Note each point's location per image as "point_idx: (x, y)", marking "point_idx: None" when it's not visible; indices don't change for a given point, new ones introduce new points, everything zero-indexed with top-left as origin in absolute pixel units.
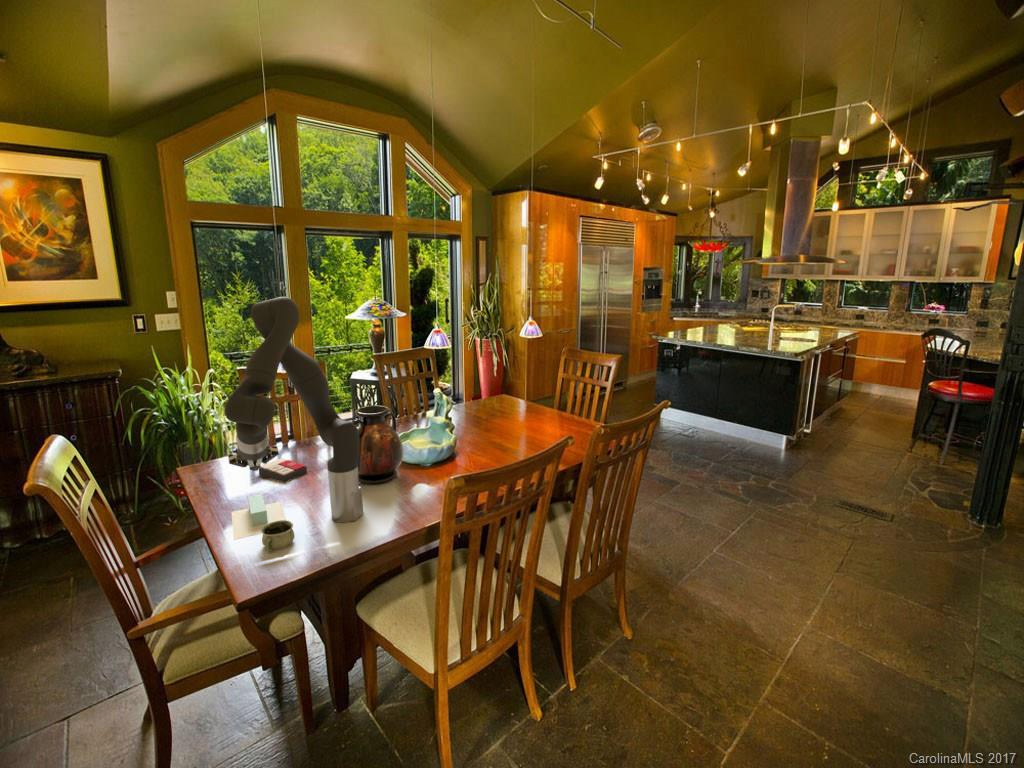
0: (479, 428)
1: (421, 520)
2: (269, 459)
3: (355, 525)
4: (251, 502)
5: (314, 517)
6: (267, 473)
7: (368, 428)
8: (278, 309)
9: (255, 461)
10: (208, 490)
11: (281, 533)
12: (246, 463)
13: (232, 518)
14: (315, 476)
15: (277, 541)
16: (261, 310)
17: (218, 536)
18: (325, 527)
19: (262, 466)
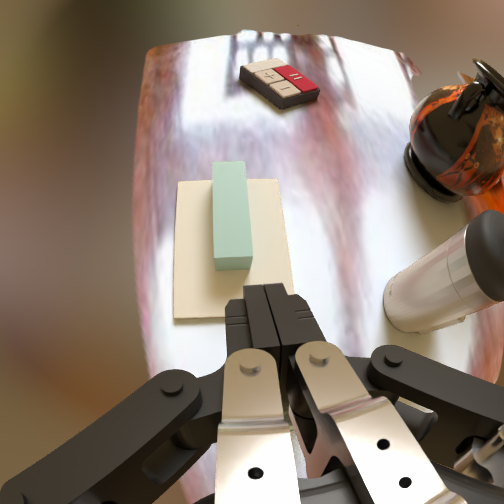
0: None
1: (492, 364)
2: (415, 434)
3: (420, 351)
4: (218, 193)
5: (349, 279)
6: (253, 81)
7: (491, 113)
8: None
9: (293, 396)
10: (159, 95)
11: (291, 430)
12: (208, 442)
13: (177, 210)
14: (333, 115)
15: None
16: None
17: (145, 273)
18: (370, 338)
19: (247, 66)
